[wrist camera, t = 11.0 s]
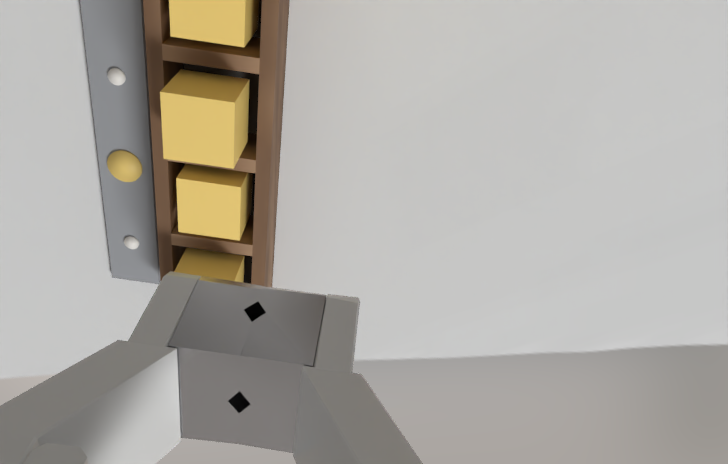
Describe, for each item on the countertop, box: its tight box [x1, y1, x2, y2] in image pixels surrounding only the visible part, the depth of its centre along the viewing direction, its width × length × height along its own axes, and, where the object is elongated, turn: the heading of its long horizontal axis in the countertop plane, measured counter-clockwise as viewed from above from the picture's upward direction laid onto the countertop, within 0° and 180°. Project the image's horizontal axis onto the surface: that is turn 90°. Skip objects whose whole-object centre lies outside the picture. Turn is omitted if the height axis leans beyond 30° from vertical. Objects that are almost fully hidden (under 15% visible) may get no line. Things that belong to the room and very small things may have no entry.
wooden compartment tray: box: [143, 0, 289, 287], centre depth 44 cm, size 8×29×4 cm, turn 173°
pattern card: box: [80, 0, 161, 284], centre depth 46 cm, size 4×29×1 cm, turn 173°
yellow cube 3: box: [176, 163, 253, 241], centre depth 46 cm, size 4×4×4 cm
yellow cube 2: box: [160, 69, 249, 169], centre depth 40 cm, size 4×4×4 cm
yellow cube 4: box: [174, 248, 244, 283], centre depth 48 cm, size 4×4×4 cm
